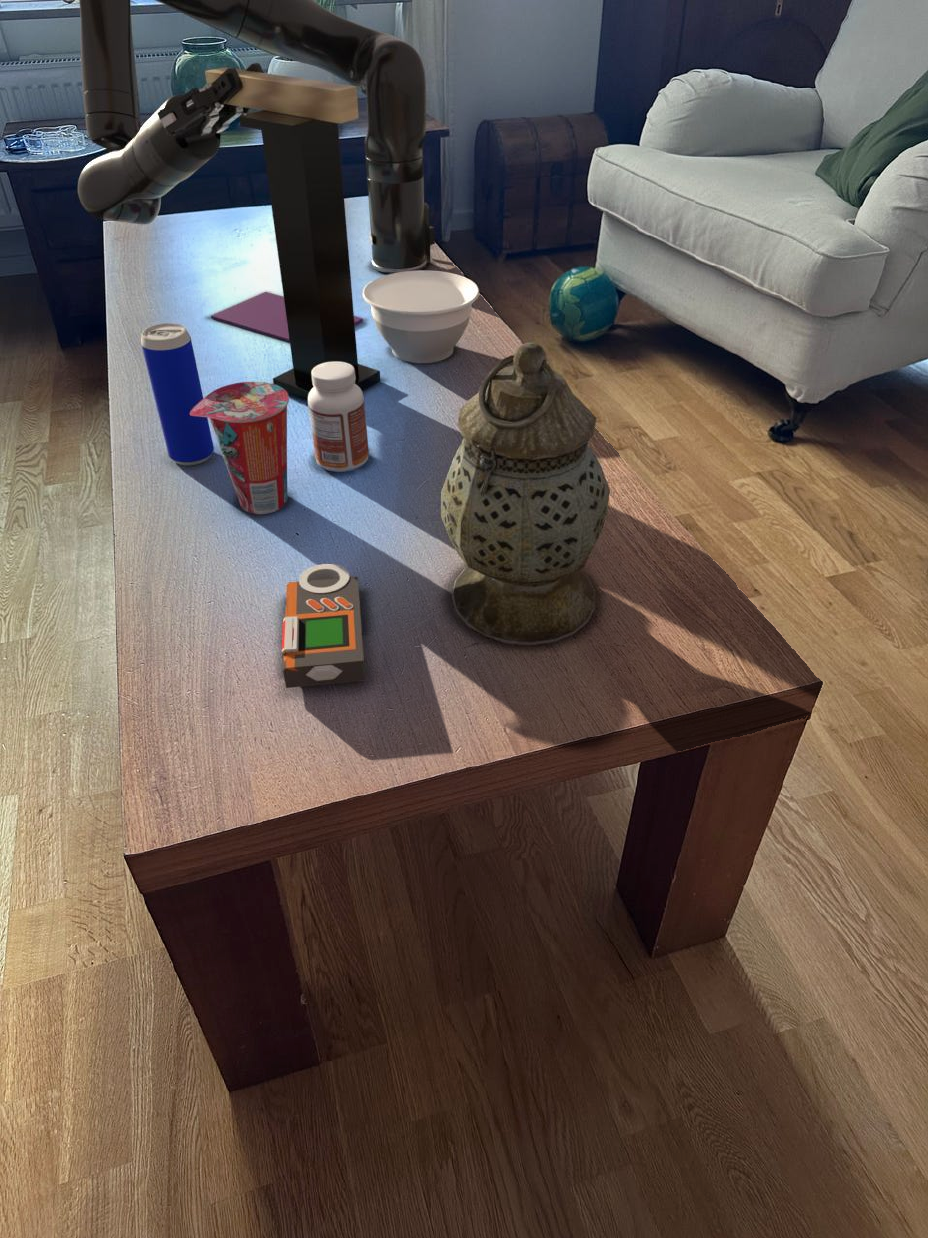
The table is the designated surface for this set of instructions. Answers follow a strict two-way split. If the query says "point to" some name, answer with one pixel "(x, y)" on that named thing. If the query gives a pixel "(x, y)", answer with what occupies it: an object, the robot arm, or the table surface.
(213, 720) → the table surface
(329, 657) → the electronic device
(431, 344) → the bowl
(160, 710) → the table surface
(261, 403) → the cup
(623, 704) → the table surface
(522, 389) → the lantern
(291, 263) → the stand
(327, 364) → the pill bottle
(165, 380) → the beverage can
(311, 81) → the birch stick
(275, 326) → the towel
